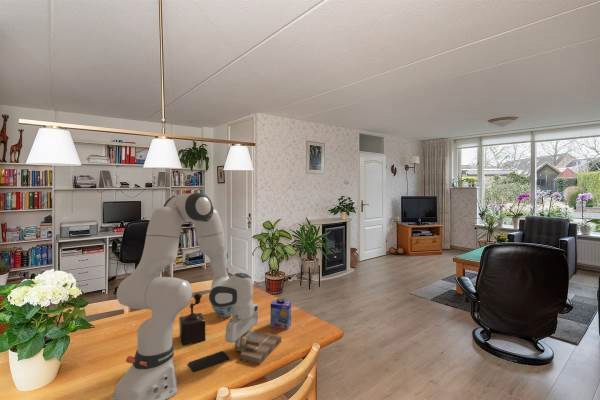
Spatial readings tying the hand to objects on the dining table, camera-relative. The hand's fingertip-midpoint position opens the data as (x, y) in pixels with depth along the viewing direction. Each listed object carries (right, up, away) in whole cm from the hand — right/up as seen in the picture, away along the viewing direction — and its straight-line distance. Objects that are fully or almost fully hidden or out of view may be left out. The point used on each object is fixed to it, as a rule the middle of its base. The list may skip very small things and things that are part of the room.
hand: (242, 342), depth 130 cm
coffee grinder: (-26, -3, +13) cm, 29 cm away
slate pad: (+1, -3, +11) cm, 12 cm away
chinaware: (-16, -2, +37) cm, 40 cm away
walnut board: (+8, -4, +1) cm, 9 cm away
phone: (-12, -4, -8) cm, 15 cm away
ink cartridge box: (+15, -3, +24) cm, 29 cm away
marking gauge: (+3, -3, -1) cm, 4 cm away
